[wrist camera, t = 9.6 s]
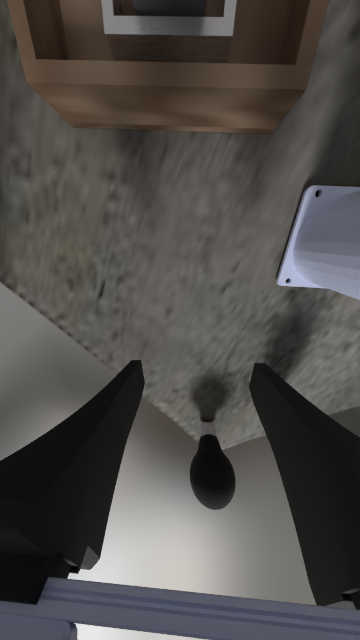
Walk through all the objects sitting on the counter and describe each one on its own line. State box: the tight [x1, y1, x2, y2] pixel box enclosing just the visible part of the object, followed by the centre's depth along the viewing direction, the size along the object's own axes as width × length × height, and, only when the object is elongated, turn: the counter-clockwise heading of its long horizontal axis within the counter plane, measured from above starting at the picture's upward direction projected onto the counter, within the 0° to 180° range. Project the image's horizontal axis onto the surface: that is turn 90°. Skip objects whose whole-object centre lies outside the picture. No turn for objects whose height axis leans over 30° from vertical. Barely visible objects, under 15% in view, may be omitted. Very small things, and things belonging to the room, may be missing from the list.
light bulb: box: [190, 421, 235, 510], centre depth 23 cm, size 6×6×10 cm
